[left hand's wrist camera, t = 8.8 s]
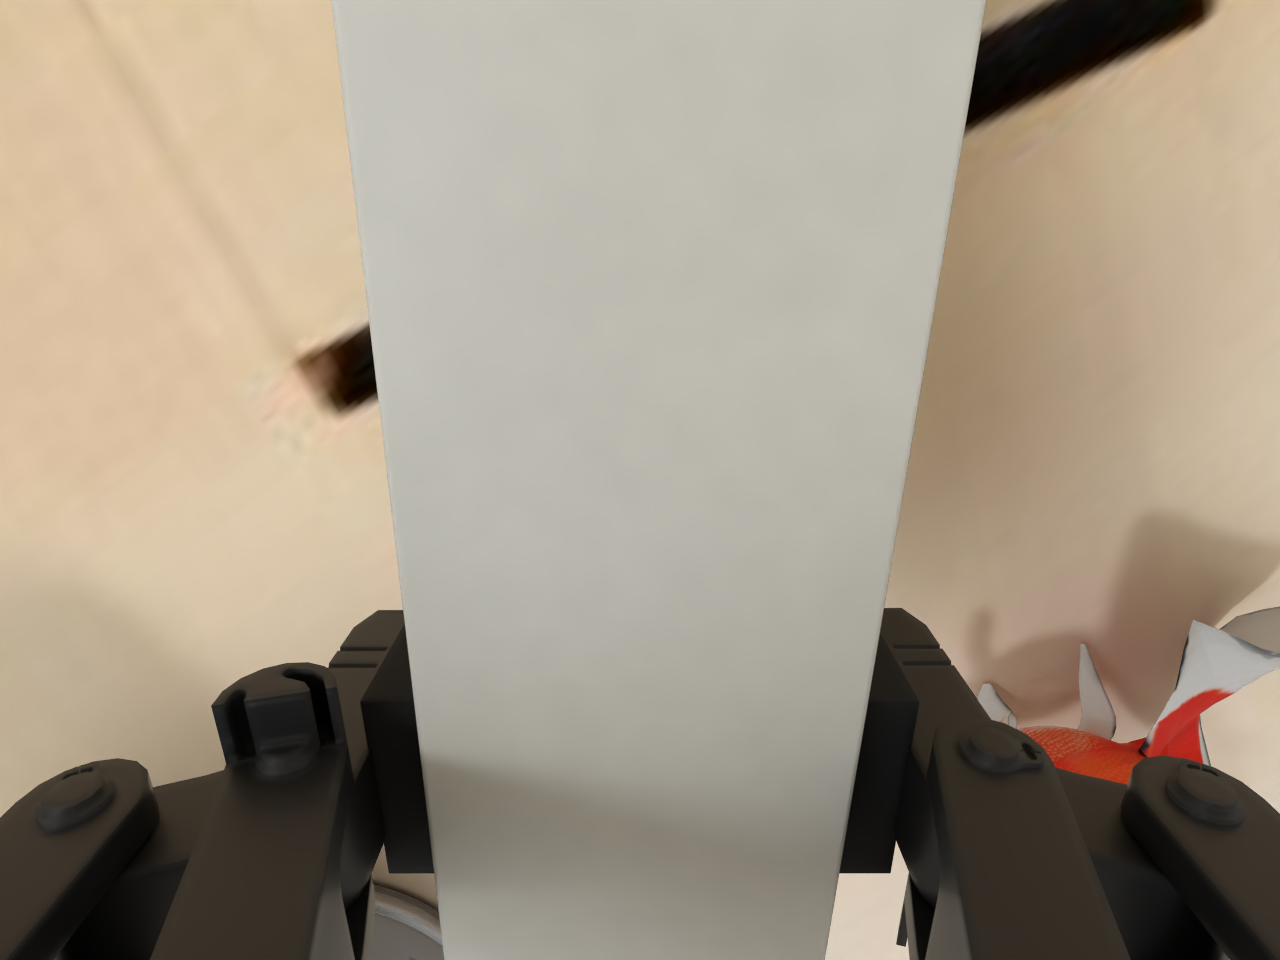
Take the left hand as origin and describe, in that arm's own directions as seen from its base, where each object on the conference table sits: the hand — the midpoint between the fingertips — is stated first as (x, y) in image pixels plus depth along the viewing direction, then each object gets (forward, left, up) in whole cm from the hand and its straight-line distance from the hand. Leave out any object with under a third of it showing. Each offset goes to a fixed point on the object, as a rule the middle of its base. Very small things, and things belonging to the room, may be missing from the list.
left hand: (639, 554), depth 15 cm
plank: (+27, +6, -1) cm, 28 cm away
